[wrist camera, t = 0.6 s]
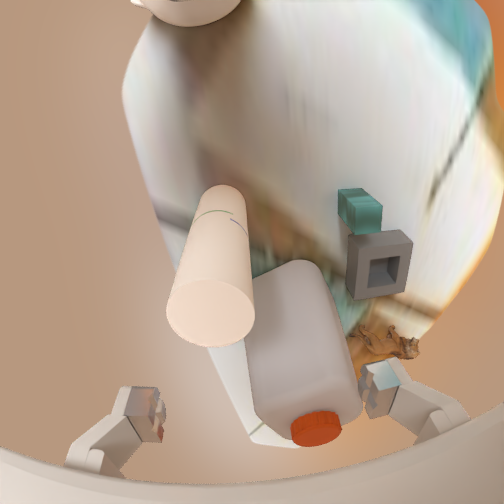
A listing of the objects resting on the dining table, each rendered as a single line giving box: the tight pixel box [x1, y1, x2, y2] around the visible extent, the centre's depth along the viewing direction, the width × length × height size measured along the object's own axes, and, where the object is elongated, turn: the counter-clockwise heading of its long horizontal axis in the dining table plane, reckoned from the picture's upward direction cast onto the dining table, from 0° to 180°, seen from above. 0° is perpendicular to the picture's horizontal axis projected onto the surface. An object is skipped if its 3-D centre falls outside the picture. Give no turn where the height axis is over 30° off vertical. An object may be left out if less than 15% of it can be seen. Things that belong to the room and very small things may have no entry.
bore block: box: [346, 230, 413, 301], centre depth 49 cm, size 10×10×5 cm
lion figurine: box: [349, 325, 420, 359], centre depth 57 cm, size 15×5×9 cm, turn 88°
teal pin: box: [338, 188, 383, 235], centre depth 43 cm, size 4×4×8 cm
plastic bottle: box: [244, 259, 363, 447], centre depth 42 cm, size 15×15×28 cm
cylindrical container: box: [166, 185, 255, 347], centre depth 35 cm, size 7×7×25 cm
